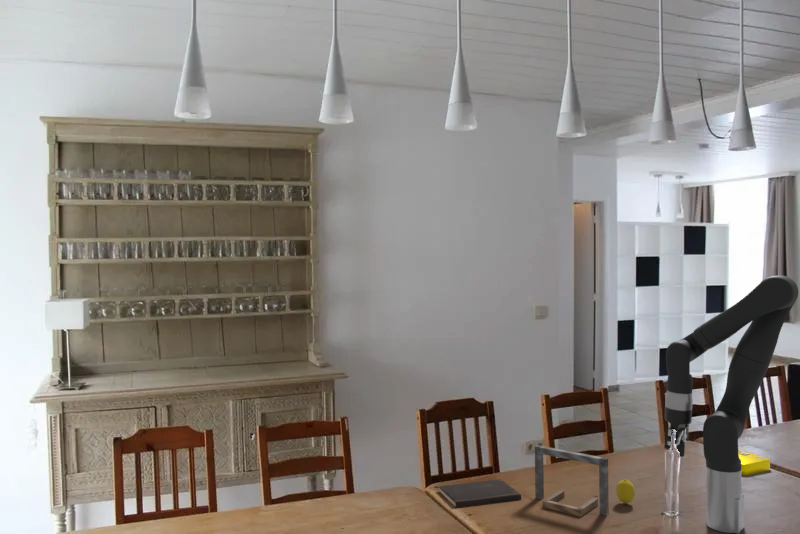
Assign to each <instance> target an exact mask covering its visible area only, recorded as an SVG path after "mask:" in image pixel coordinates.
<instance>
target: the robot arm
mask: <svg viewBox="0 0 800 534" xmlns="http://www.w3.org/2000/svg"><path fill="white" fill-rule="evenodd" d="M798 297H799V287H798V285H797V283H796V282H795V281H794V280H793V279H792V278H791V277H789V276H786V275H772V276H771V275H770V276H768V277H765V278H764V279H762V281H760V283H758V285H756V286H755V288H754V289H752V290H751V291H750V292H749V293H748V294H747V295H745V296H744V297H743V298H742V299H740V300H739V301H738V302H736V303H735V304H734V305H732V306H731V307H729V308H727V309H725V310H724V311H721V312H720V313H719V314H717V315H715V316H713V317H711V318H710V319H709V320H707V321H705V322H704V323H702V324H701V325H699V326H697V328H695V329H694V330H693V332H691V333H690V334H688V335H686V336H685V337H683V338H681V339H679V340H677V341H673V342H672V343H670V344H669V345H668V346H667V348H666V351H665V363H666V364H665V365H666V373H667V382H666V383H667V384H666V385H667V386H666V393H665V401H664V402H665V403H664V404H665V405H664V420H665V421H666V422H667V423H669V424H670V425H669V428H665V433H664V434H665V435H664V446H663V447H664V449H666V450H668V449H669V448H670V446H671V444H672V443H671V435H672V433H673V432H672V431H673V430H672V429H675V430H676V431H677V432H676V440H675V444H676V450H677V449H678V451H679V452H680V456H679V457H681V458H683V457H685V452H686V451H685V450H686V444H687V442H688V441H689V429H690V428H689V426H690V424H692V416H693V403H694V402H693V383H694V381H693V375H692V374H691V373H690V364H691V362H693V361H694V360H696V359H698V358H699V357H700V356H702V355H703V354H705V353H706V352H707V351H709V350H711V349H712V348H715V347H716V346H718V345H719V344H721V343H723V342H724V341H726V340H728V339H730V338H731V337H732V336H734V335H735V334H736V333H738V332H739V331H740V330H741V329H742V328H744V327H745V326H747V325H748V324H749V326H748V328H746V330H745V332H744V333H743V335H742V337H741V338H740V339H739V342H738V343H737V346H736V348H735V350H734V352H733V354H732V357H731V360H730V362H729V366H728V370H727V377H726V378H727V379H726V385H725V386H726V387H725V391H724V394H723V396H722V398H721V400H720V402H719V405H717V408H716V410H715V412H713V414H711V415H710V416H708V417H707V418H706V419H705V421H704V422H703V426H702V443H703V444H702V445H703V455H704V460H705V482H706V483H705V485H706V488H705V489H706V492H705V493H706V496H705V497H706V501H705V503H706V516H705V517H706V525H707V527H709V528H710V529H711V530H715V531H718V532H722V533H728V534H731V533H733V534H734V533H735V534H741V532H742V531H743V529H744V528H745V501H744V500H745V495H744V494H743V493H742V492H743V491H742V489H743V488H742V487H743V484H742V483H743V482H742V475H741V460H740V459H739V455H738V450H739V439H740V438H741V437H742V435H743V433H744V430H745V426H746V422H747V419H748V414H749V411H750V407H751V404H752V402H753V400H754V398H755V396H756V394H757V392H758V391H759V389H760V387H761V385H762V383H763V380H764V378H765V376H766V373H767V371H768V369H769V366H770V364H771V361H772V358H773V355H774V353H775V349H776V347H777V344H778V340H779V337H780V333H781V330H782V328H783V326H784V323H785V321H786V320H787V318H788V316H789V313H790V312H791V310H792V308H793V306H794V305H795V303H796V301H797V300H798Z"/></svg>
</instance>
